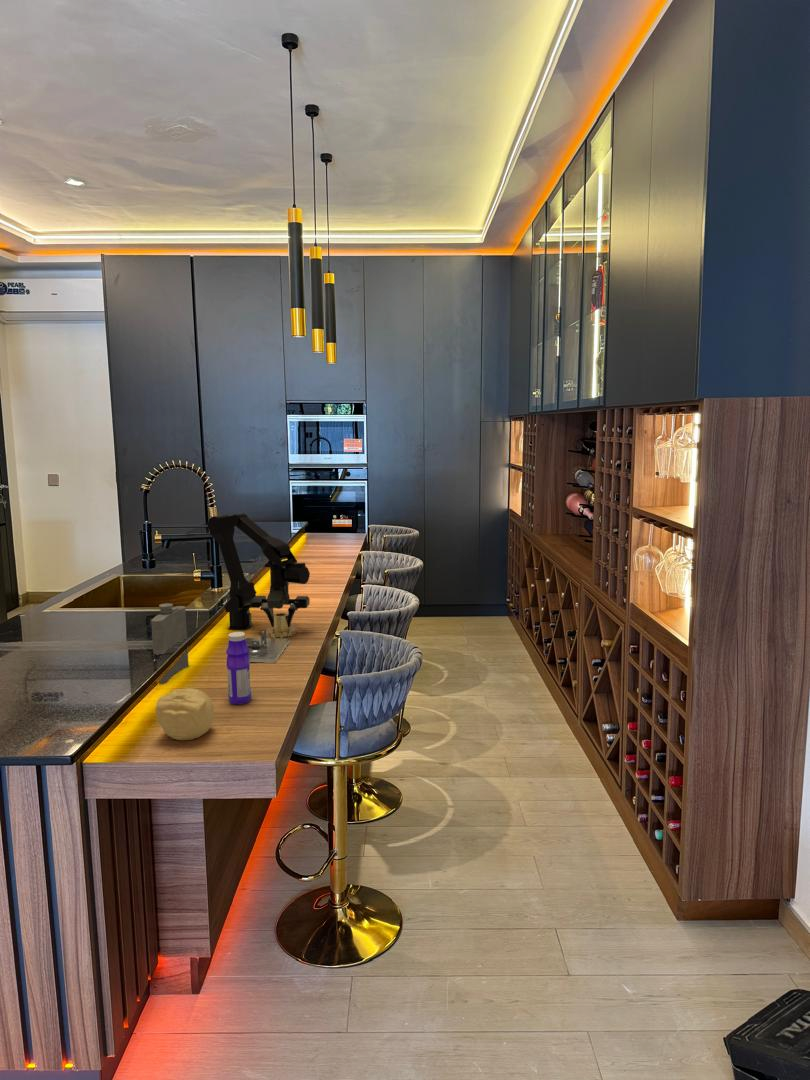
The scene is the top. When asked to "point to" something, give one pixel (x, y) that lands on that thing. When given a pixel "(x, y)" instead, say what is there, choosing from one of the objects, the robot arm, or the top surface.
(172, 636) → the hip flask
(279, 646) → the carrier plate
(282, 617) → the gear
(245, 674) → the bottle
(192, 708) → the sculpture
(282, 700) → the top surface
